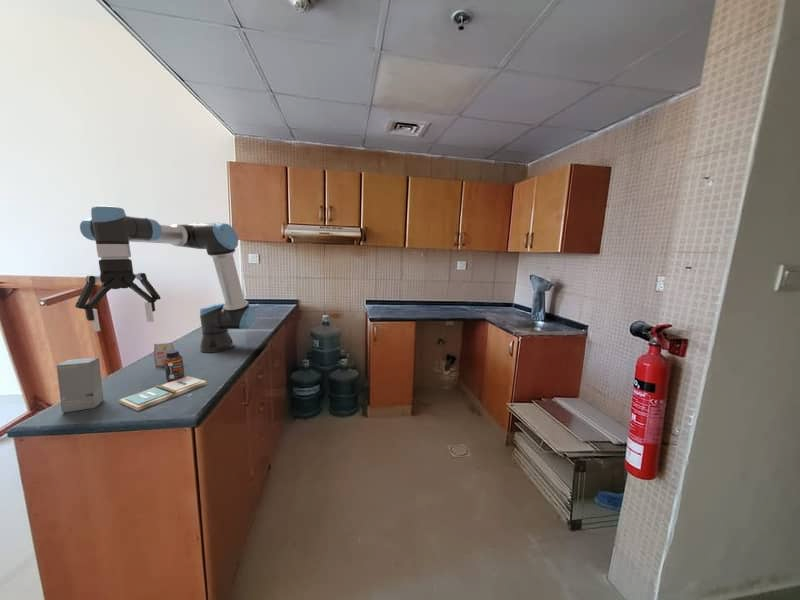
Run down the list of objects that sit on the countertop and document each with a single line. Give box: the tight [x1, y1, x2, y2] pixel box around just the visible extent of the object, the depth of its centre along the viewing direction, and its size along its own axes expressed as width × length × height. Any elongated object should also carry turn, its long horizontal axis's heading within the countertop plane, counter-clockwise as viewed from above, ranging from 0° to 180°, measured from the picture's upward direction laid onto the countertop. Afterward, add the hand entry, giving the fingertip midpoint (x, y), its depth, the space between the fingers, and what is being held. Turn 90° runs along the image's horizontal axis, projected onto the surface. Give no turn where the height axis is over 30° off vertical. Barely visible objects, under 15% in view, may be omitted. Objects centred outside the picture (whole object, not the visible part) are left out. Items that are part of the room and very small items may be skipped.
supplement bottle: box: [164, 349, 185, 382], centre depth 123 cm, size 6×6×11 cm
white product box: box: [153, 342, 176, 368], centre depth 138 cm, size 4×7×10 cm, turn 107°
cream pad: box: [161, 376, 201, 391], centre depth 115 cm, size 9×9×1 cm
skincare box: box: [56, 357, 104, 414], centre depth 101 cm, size 8×7×16 cm
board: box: [118, 375, 208, 412], centre depth 110 cm, size 22×12×2 cm, turn 153°
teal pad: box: [124, 387, 169, 405], centre depth 106 cm, size 9×9×1 cm
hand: (125, 326), depth 97 cm, fingers open, 13 cm apart
